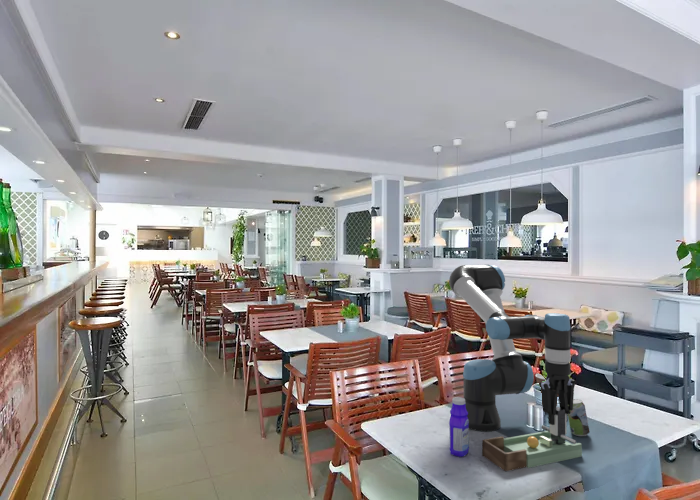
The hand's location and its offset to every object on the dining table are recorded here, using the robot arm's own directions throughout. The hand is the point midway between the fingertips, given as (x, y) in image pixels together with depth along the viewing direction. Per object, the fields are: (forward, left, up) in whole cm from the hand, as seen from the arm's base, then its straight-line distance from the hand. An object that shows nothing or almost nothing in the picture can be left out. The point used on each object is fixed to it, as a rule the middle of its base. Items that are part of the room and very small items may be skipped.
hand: (558, 433), depth 141 cm
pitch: (-4, -6, -6) cm, 9 cm away
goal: (-11, -19, -6) cm, 22 cm away
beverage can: (+2, +18, -6) cm, 19 cm away
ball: (-5, -9, -3) cm, 11 cm away
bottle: (-24, -23, -6) cm, 33 cm away
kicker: (-1, -2, -3) cm, 4 cm away
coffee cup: (-15, +45, -6) cm, 48 cm away
